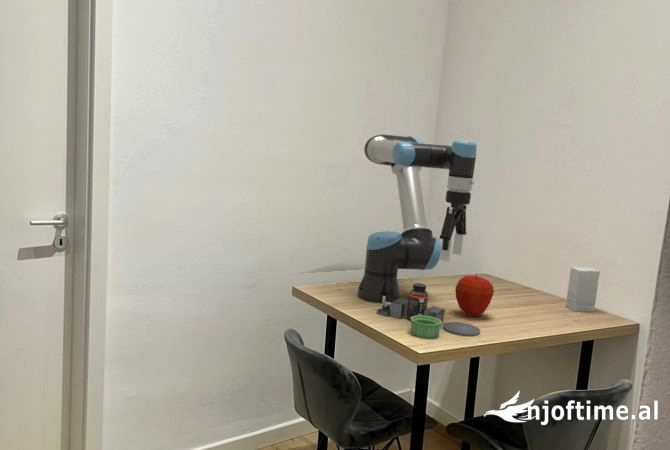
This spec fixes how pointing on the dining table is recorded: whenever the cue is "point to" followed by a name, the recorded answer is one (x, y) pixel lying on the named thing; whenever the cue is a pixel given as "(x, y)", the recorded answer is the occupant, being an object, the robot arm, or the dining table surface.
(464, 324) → the coaster
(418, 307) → the supplement bottle
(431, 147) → the robot arm
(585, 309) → the skincare box
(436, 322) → the ramekin
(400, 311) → the vise
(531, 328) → the dining table surface
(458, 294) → the apple
